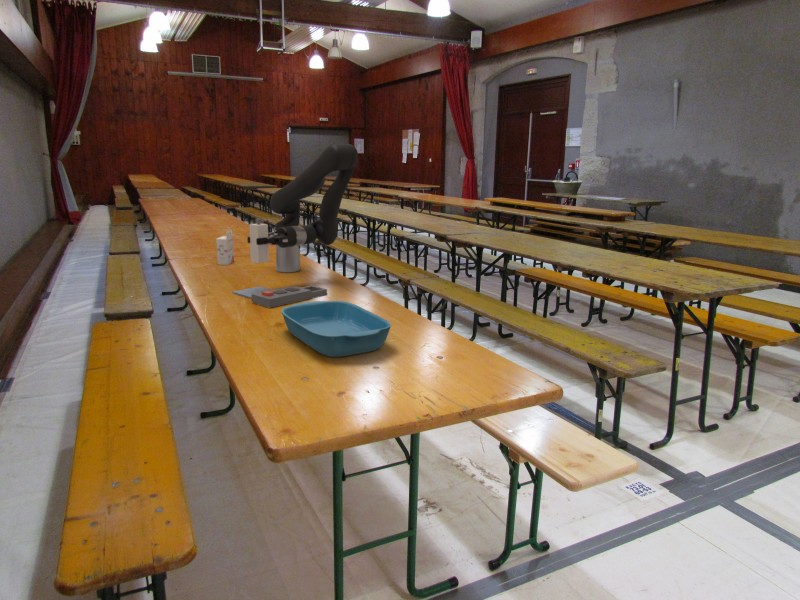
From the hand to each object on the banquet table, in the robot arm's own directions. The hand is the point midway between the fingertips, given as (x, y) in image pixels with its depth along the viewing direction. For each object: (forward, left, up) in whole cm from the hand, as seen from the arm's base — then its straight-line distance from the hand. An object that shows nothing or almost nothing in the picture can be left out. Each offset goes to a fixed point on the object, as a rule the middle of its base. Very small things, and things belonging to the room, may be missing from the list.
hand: (252, 240), depth 194 cm
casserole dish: (+15, +55, -20) cm, 60 cm away
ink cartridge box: (-26, -55, -19) cm, 64 cm away
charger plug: (-3, 0, -7) cm, 8 cm away
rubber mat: (-2, -1, -19) cm, 19 cm away
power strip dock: (-6, +13, -19) cm, 24 cm away
